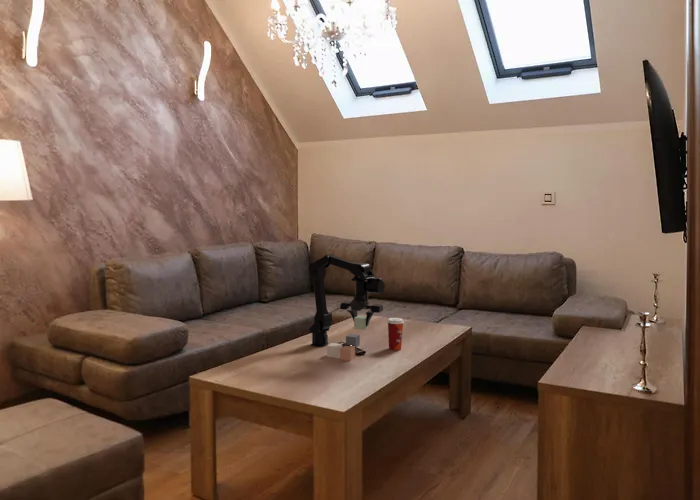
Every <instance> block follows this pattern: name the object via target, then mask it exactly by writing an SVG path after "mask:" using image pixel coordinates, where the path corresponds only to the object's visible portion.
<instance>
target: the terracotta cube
mask: <svg viewBox="0 0 700 500" xmlns="http://www.w3.org/2000/svg"><path fill="white" fill-rule="evenodd" d="M354 359H356V348H355V347H351V346H346V345H344V346H343V345H342V348H340V357H339V360H340V361H347V362H352V361H353V360H354Z"/></svg>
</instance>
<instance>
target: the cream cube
mask: <svg viewBox="0 0 700 500" xmlns="http://www.w3.org/2000/svg"><path fill="white" fill-rule="evenodd" d="M326 346H327V347H326V350H327V351H326V356H327V358H335V359H338V358H340V348H342V347H343V344H342V343H336V342H335V343H334V342H331V343H328V344H327V345H326Z"/></svg>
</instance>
